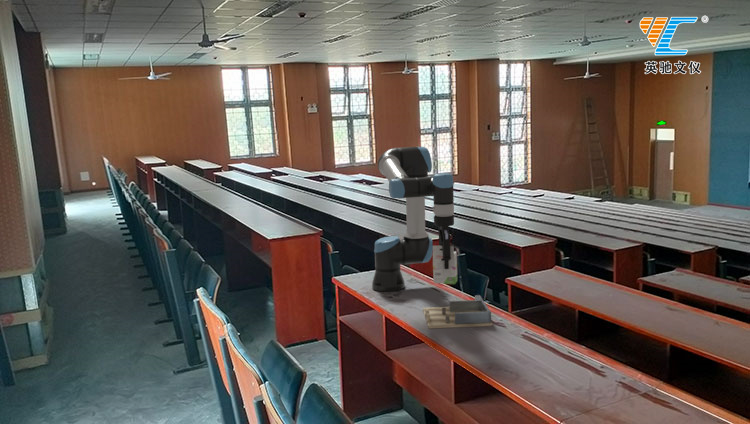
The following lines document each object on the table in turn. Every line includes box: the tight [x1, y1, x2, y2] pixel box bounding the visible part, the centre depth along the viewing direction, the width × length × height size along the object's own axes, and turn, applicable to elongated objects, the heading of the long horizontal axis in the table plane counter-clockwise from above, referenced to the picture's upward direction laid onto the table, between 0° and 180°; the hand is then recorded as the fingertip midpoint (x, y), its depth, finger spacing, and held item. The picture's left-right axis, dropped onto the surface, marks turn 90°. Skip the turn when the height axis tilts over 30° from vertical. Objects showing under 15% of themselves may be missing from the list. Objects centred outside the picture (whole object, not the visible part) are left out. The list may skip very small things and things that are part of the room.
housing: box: [448, 294, 492, 324], centre depth 229 cm, size 21×14×4 cm, turn 1°
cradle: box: [422, 306, 493, 329], centre depth 229 cm, size 21×24×4 cm
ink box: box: [432, 245, 458, 285], centre depth 222 cm, size 9×5×15 cm, turn 70°
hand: (445, 274), depth 223 cm, fingers closed on ink box, 6 cm apart
